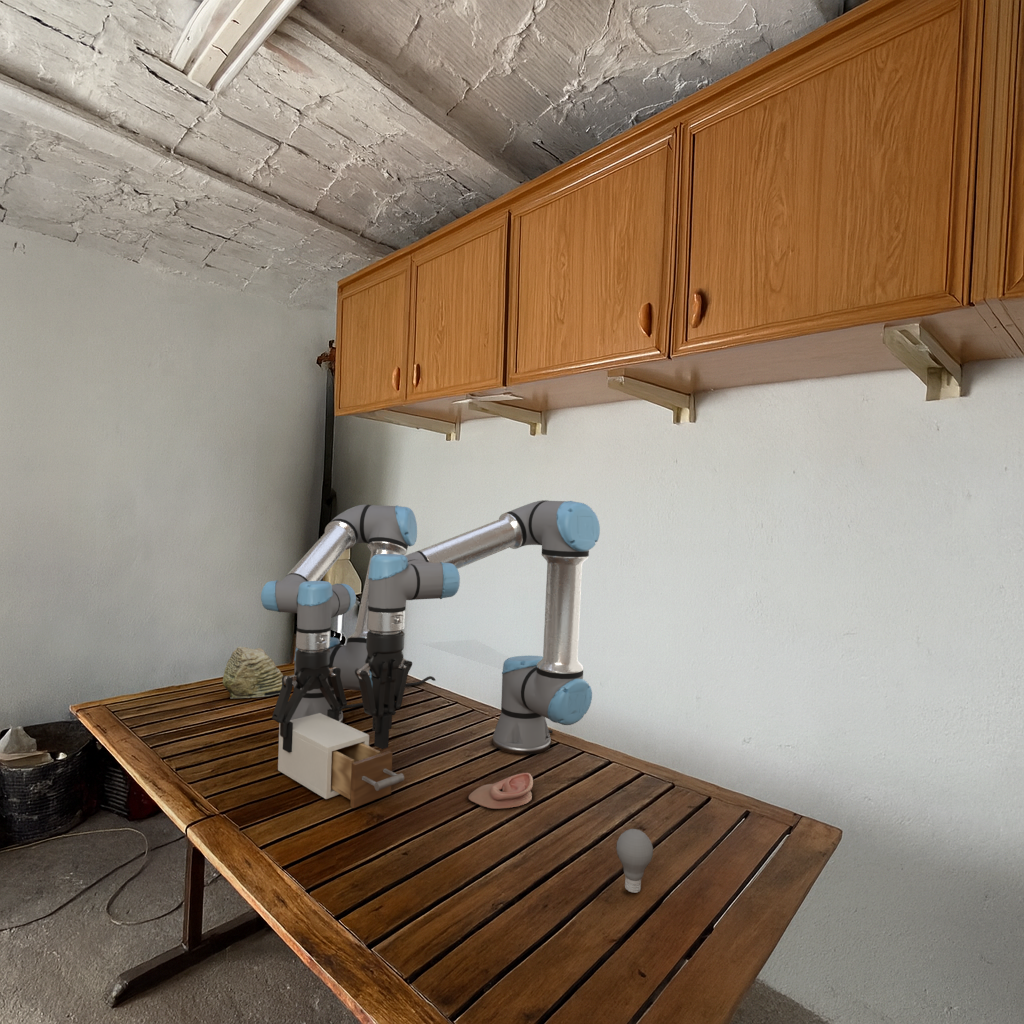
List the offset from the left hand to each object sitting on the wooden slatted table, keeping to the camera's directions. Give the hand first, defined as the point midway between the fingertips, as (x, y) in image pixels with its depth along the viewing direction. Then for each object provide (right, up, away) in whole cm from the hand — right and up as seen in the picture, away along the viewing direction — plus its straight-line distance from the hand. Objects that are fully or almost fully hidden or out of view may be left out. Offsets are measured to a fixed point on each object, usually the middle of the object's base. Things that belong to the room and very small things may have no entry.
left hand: (309, 744), depth 146 cm
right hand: (+20, +6, -18) cm, 28 cm away
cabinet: (+4, -6, -3) cm, 8 cm away
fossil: (-34, -4, +52) cm, 62 cm away
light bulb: (+67, -10, -41) cm, 79 cm away
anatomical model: (+44, -8, -10) cm, 46 cm away
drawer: (+13, -6, -12) cm, 19 cm away
